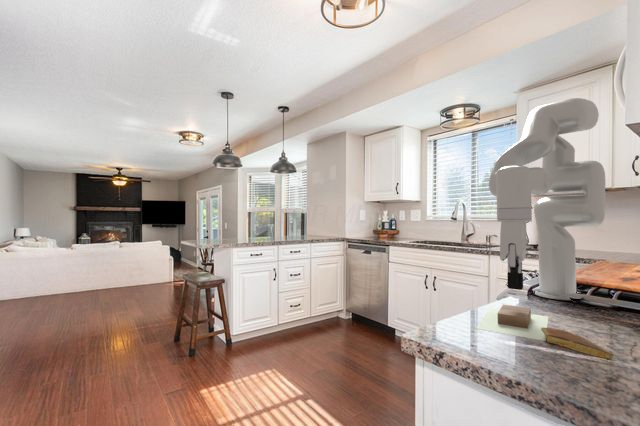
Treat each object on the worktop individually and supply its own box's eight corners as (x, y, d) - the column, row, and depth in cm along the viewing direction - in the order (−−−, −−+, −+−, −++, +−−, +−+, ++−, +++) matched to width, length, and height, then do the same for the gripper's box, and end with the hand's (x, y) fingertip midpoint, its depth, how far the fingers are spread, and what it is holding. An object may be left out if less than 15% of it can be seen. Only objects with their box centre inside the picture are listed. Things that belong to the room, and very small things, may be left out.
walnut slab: (503, 304, 84) (497, 313, 77) (530, 308, 80) (527, 317, 73) (503, 314, 84) (497, 323, 77) (530, 318, 80) (527, 328, 73)
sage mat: (490, 310, 89) (490, 308, 89) (548, 318, 81) (548, 316, 81) (476, 331, 74) (476, 328, 74) (545, 343, 66) (545, 340, 66)
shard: (613, 363, 57) (614, 353, 57) (566, 356, 58) (567, 346, 58) (574, 339, 68) (575, 331, 68) (534, 334, 69) (535, 325, 69)
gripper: (501, 215, 90) (502, 281, 90) (492, 216, 78) (493, 292, 78) (533, 215, 85) (535, 285, 85) (529, 215, 73) (530, 296, 73)
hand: (515, 288), depth 81 cm, fingers closed
